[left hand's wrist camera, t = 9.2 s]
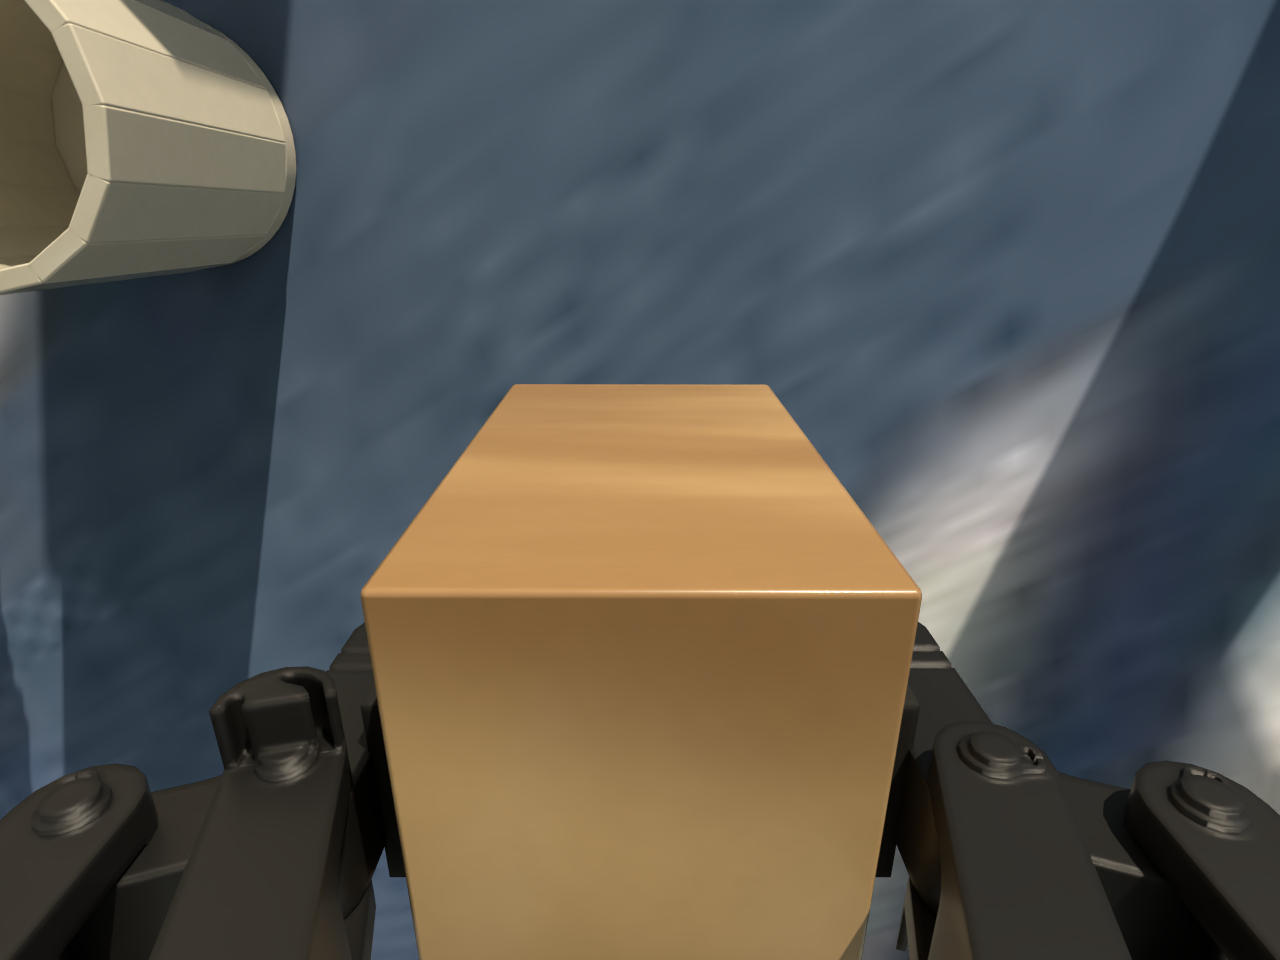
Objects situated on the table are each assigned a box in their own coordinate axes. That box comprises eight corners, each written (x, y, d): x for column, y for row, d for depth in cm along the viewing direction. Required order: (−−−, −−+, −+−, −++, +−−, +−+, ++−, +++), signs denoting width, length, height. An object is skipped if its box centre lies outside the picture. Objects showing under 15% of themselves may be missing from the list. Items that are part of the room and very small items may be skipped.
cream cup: (172, -49, 21) (-132, -222, 13) (345, 180, 24) (183, 160, 15) (6, 110, 23) (-362, 48, 14) (184, 311, 25) (-44, 359, 17)
